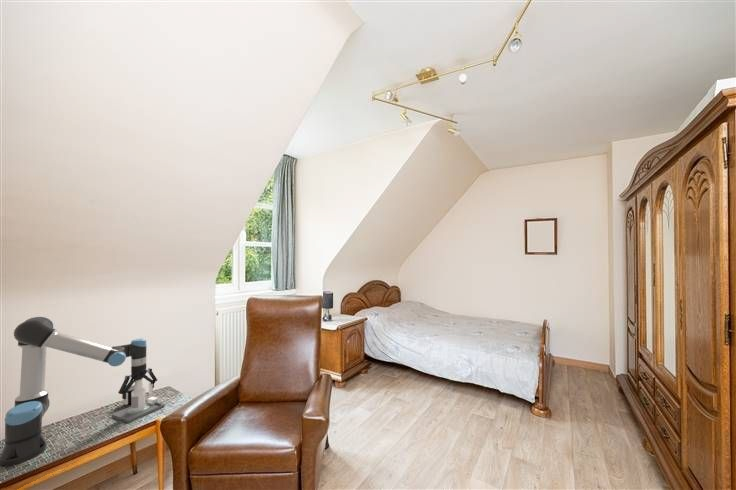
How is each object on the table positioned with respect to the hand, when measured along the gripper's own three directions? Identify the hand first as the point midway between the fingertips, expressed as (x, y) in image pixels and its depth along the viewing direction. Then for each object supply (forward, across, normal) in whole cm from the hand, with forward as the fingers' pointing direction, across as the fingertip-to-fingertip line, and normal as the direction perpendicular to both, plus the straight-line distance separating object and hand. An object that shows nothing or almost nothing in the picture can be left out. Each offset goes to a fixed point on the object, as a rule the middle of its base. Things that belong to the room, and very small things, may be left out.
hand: (138, 398), depth 181 cm
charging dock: (+8, 0, 0) cm, 8 cm away
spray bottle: (+6, 0, 0) cm, 6 cm away
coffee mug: (+8, +6, +17) cm, 20 cm away
